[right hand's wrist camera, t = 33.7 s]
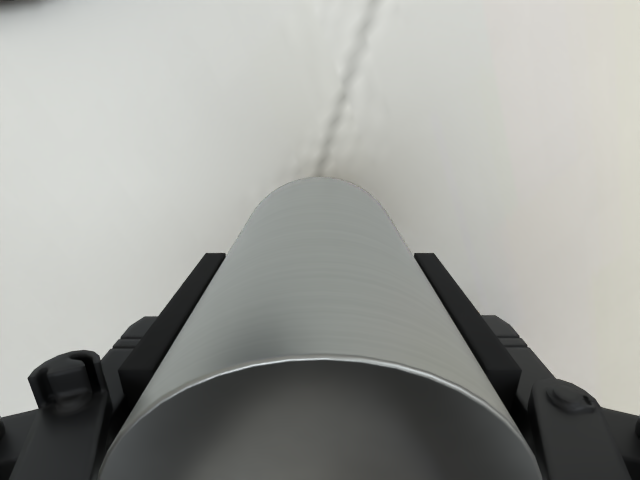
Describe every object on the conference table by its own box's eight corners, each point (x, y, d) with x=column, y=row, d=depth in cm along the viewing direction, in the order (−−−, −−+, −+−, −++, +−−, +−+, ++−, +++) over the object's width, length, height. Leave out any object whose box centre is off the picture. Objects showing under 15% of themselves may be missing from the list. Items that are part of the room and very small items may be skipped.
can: (399, 311, 18) (525, 641, 7) (257, 325, 19) (162, 663, 7) (394, 167, 16) (579, 330, 4) (228, 186, 16) (13, 382, 5)
